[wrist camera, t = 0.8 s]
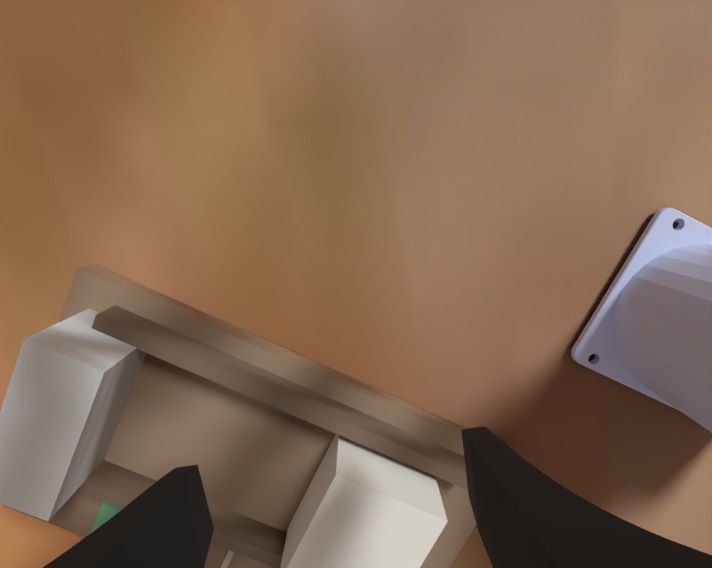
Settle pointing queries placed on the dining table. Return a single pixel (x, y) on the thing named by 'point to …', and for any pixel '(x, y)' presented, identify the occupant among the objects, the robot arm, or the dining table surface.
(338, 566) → the white block with bar
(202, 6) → the dining table surface
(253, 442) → the gauge board
